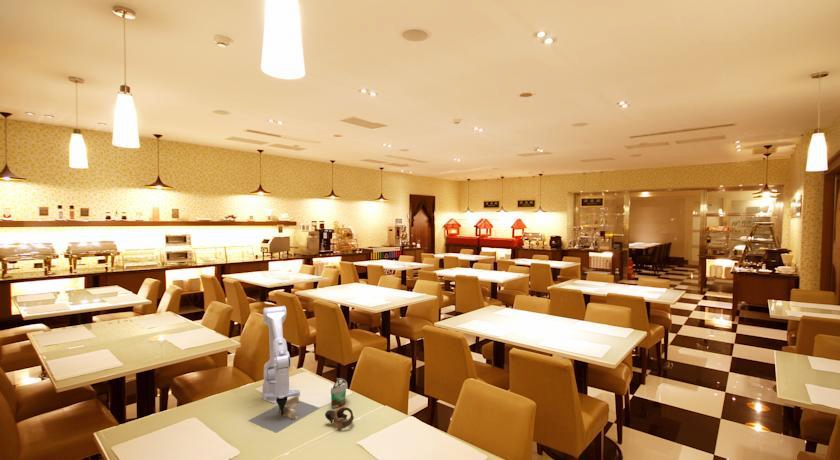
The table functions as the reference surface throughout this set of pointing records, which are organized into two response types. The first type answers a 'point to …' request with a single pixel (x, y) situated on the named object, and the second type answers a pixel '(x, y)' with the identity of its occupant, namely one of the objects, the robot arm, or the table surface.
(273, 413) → the mat
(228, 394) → the table surface
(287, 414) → the bar
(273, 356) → the robot arm
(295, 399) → the fixed fence section
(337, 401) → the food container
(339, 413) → the pottery mug
